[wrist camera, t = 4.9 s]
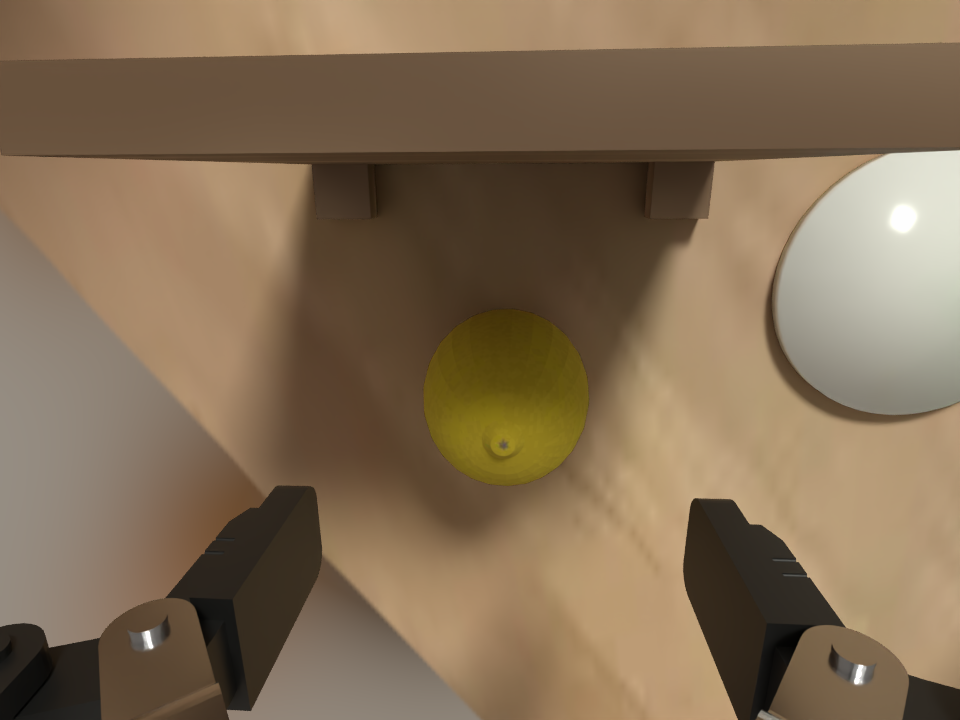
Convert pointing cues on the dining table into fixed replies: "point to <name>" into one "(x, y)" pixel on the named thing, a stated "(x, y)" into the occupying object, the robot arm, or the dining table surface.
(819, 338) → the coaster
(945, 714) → the robot arm
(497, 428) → the lemon
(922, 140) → the walnut screen
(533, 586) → the dining table surface
